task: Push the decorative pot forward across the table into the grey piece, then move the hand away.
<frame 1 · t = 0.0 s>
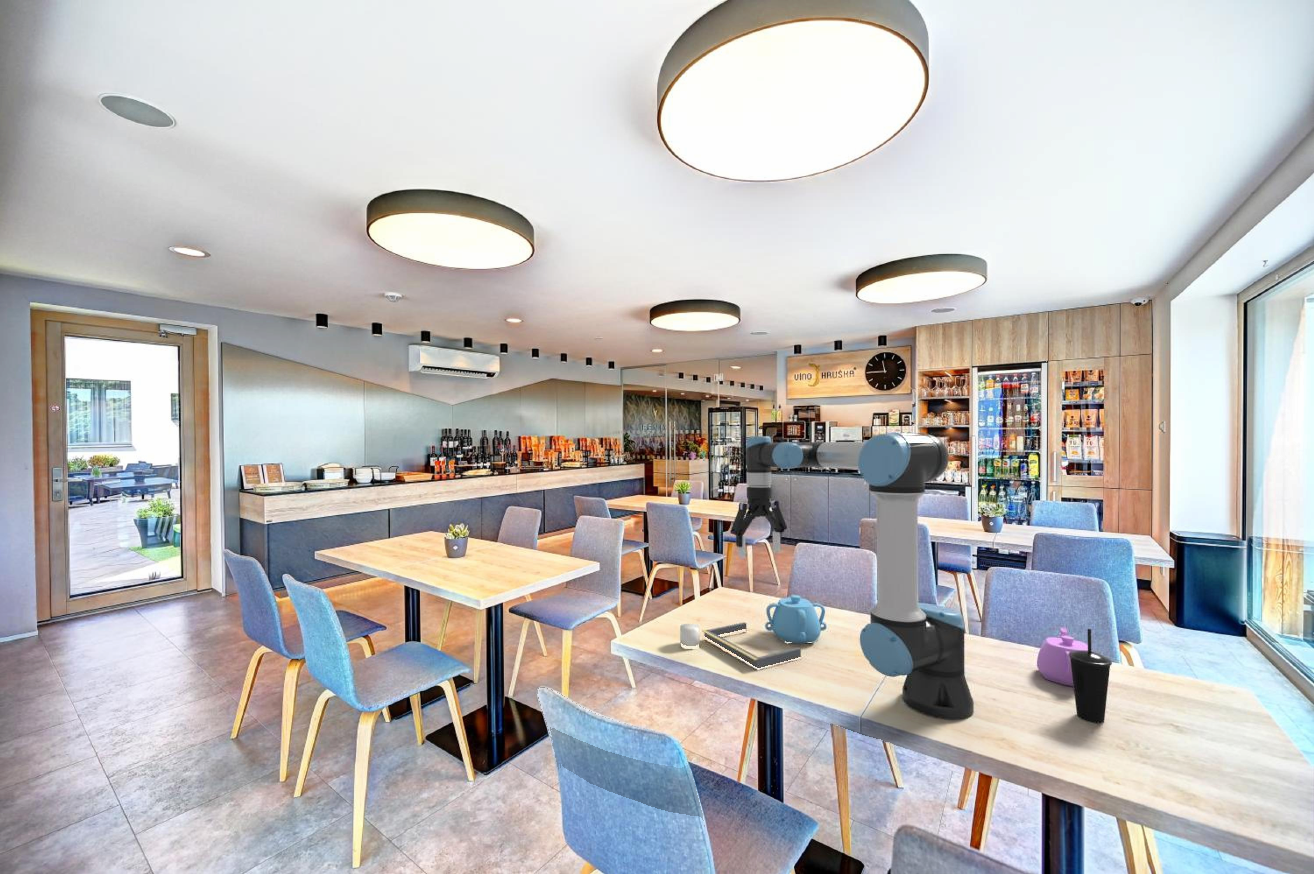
hand: (759, 555, 166), 28 cm above the table, fingers open, 13 cm apart
teapot: (1067, 679, 142), on the table
grey piece: (751, 648, 164), on the table
white rounded cylinder: (690, 646, 166), on the table
drinking cup: (1090, 718, 122), on the table
decorative pot: (795, 639, 172), on the table
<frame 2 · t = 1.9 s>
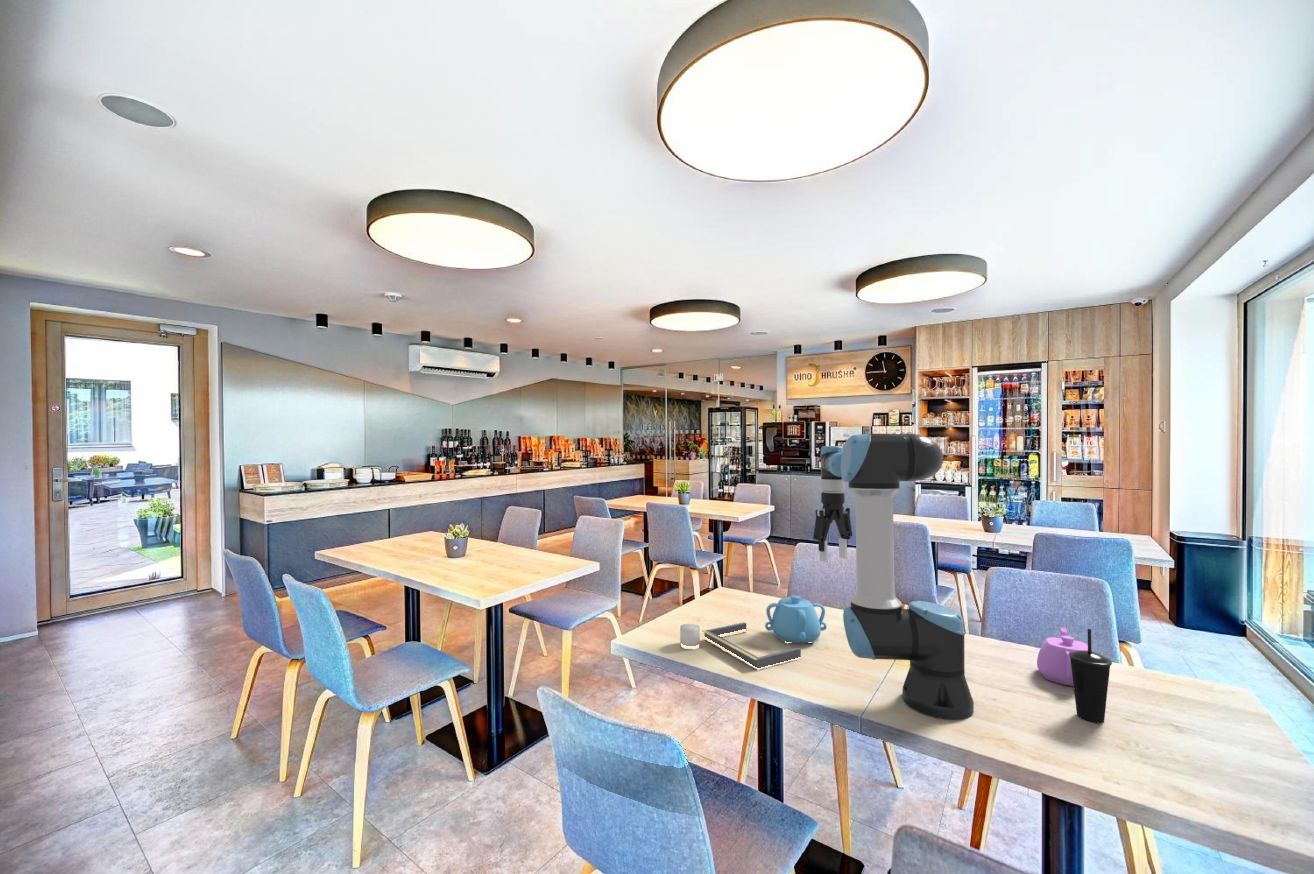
hand: (833, 559, 181), 23 cm above the table, fingers open, 8 cm apart
nothing on the table moved.
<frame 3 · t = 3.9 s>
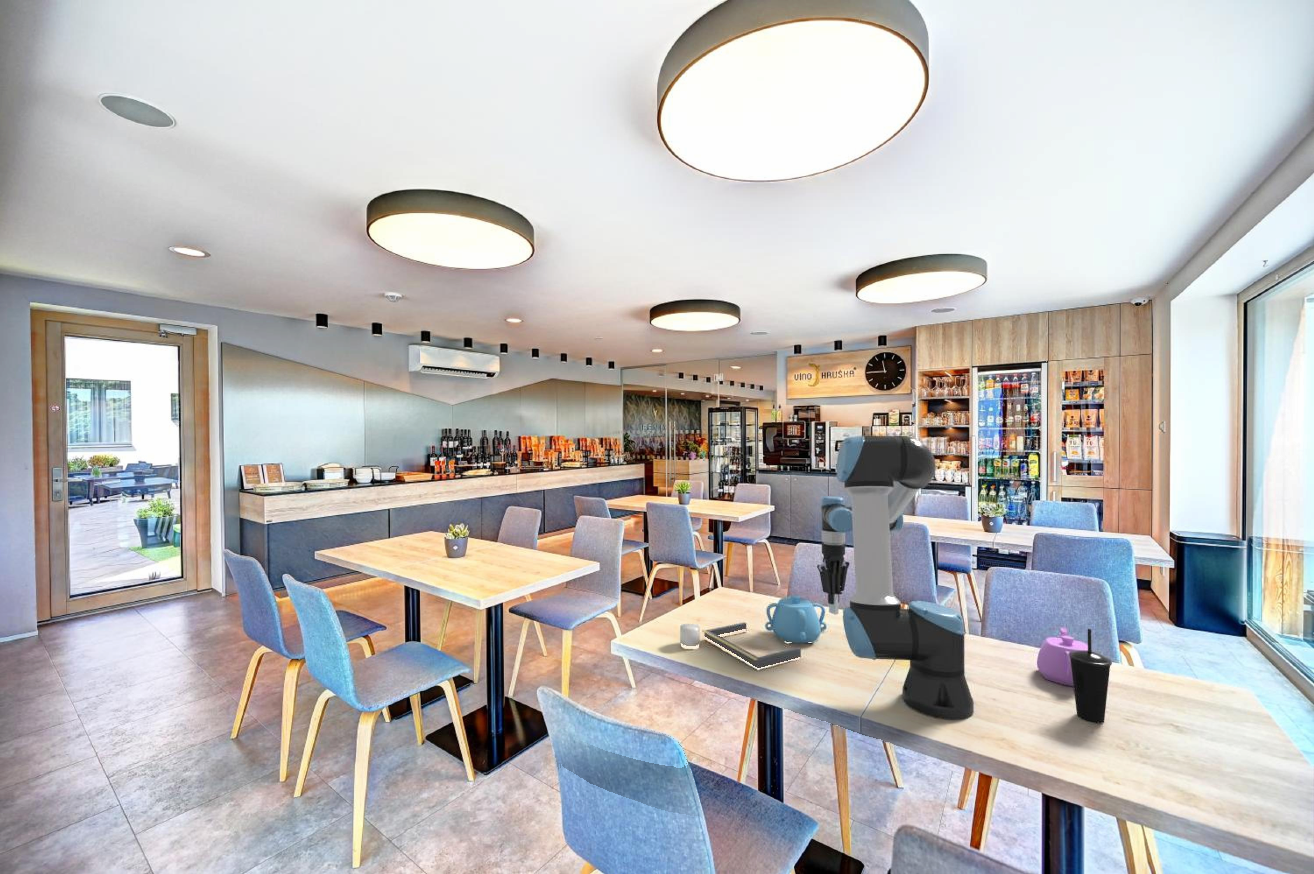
hand: (833, 612, 181), 5 cm above the table, fingers closed
nothing on the table moved.
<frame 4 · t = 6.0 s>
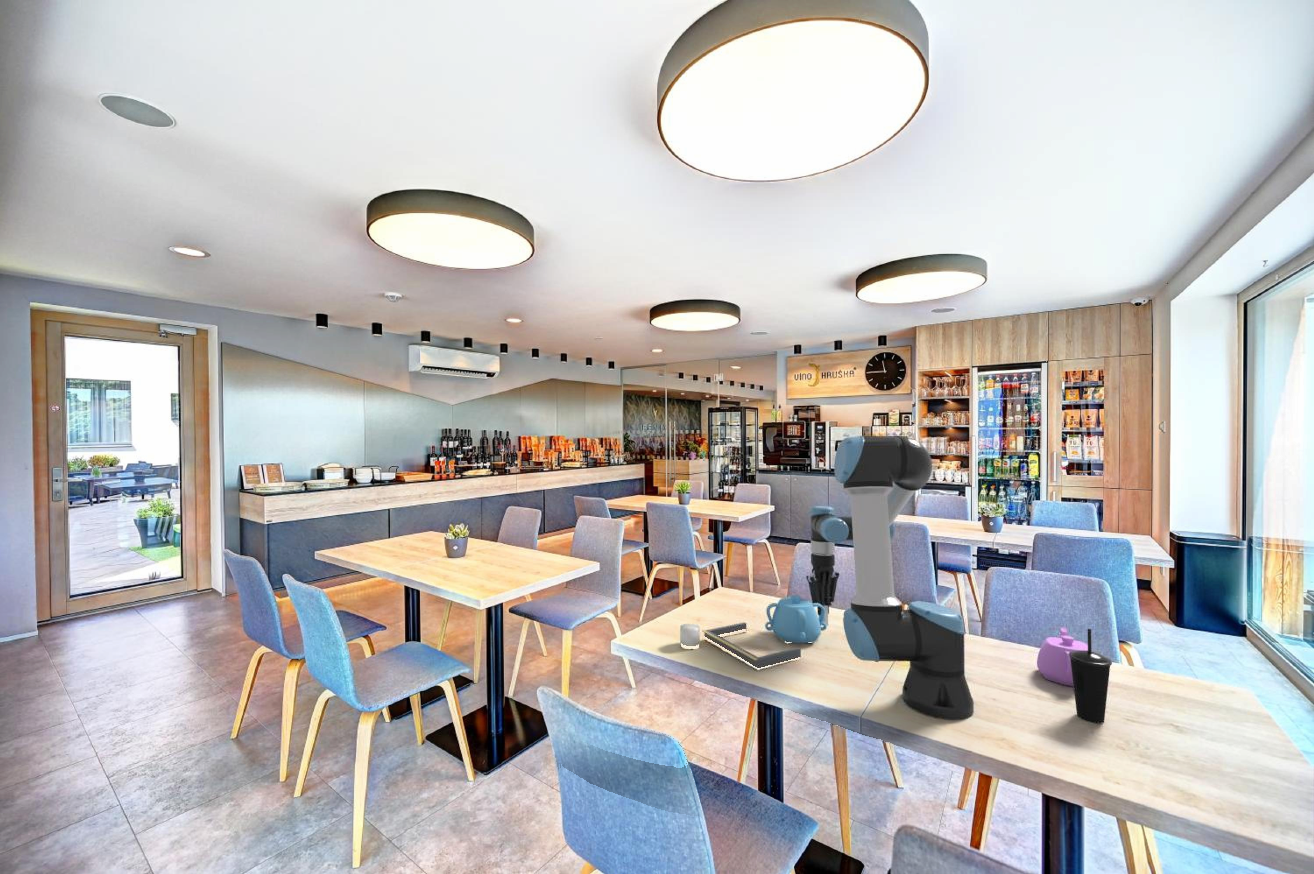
hand: (823, 624, 178), 2 cm above the table, fingers closed
nothing on the table moved.
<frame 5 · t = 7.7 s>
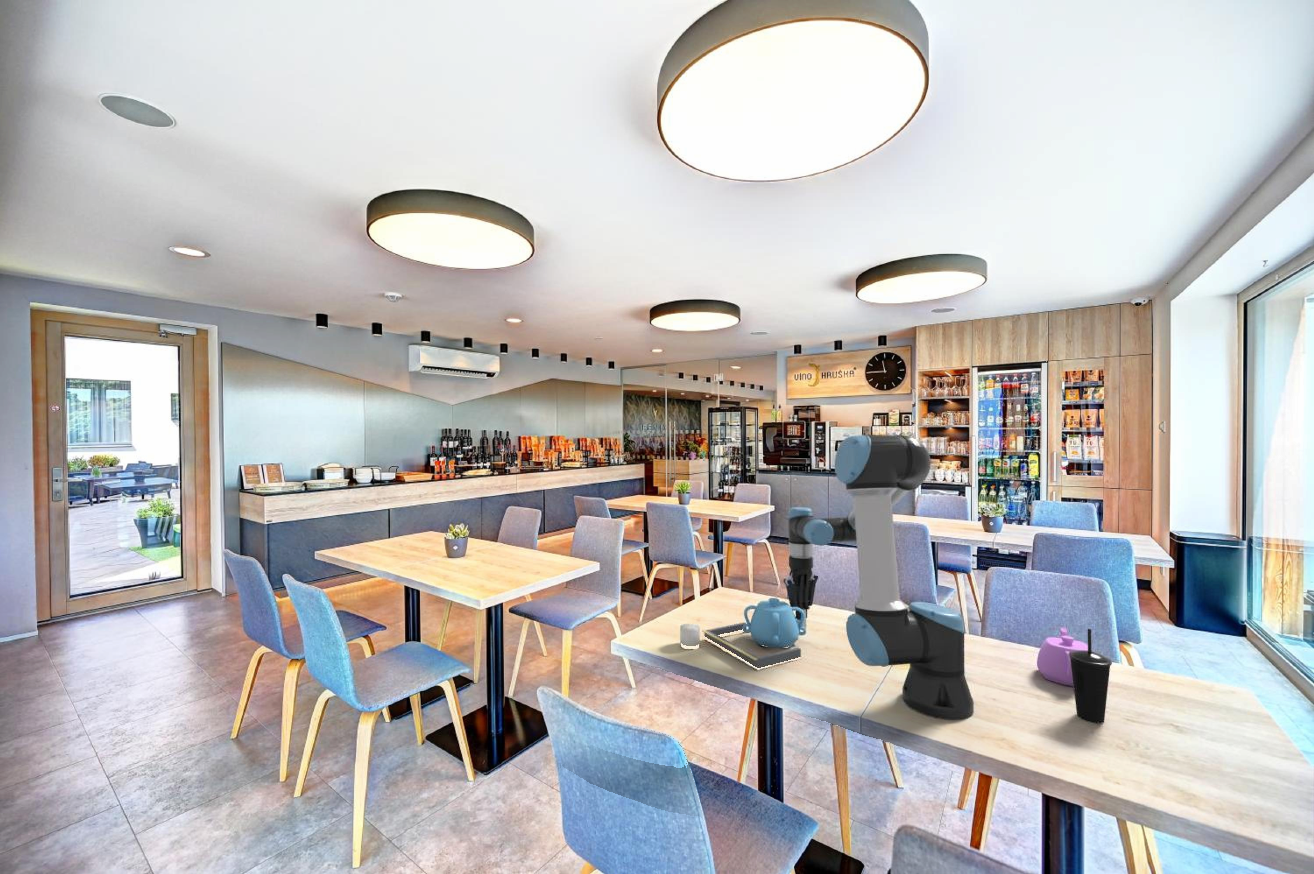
hand: (801, 628, 174), 3 cm above the table, fingers closed
decorative pot: (774, 642, 169), on the table, touching hand
everything else where it was.
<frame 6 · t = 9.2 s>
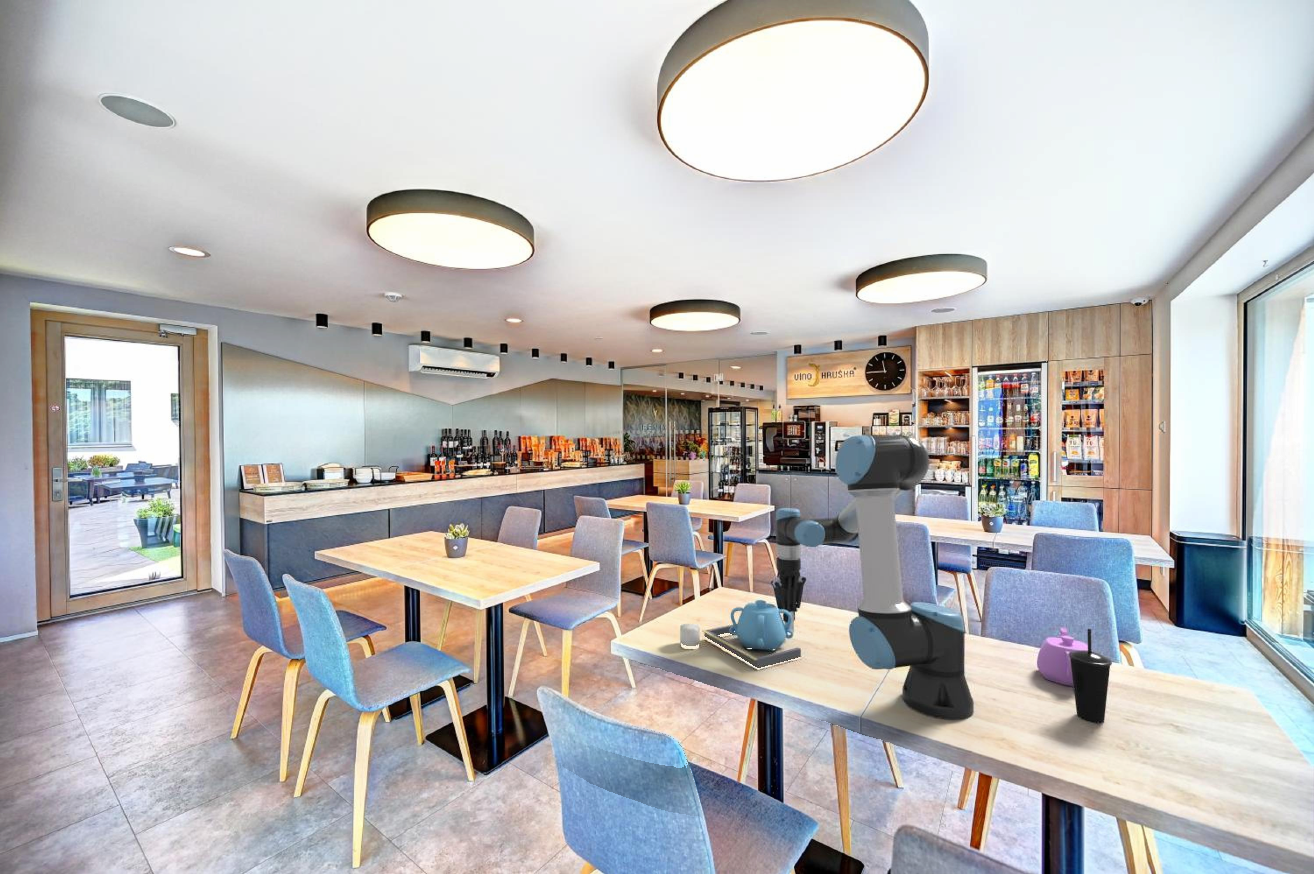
hand: (789, 631, 171), 3 cm above the table, fingers closed
decorative pot: (761, 645, 167), on the table, touching hand
everything else where it was.
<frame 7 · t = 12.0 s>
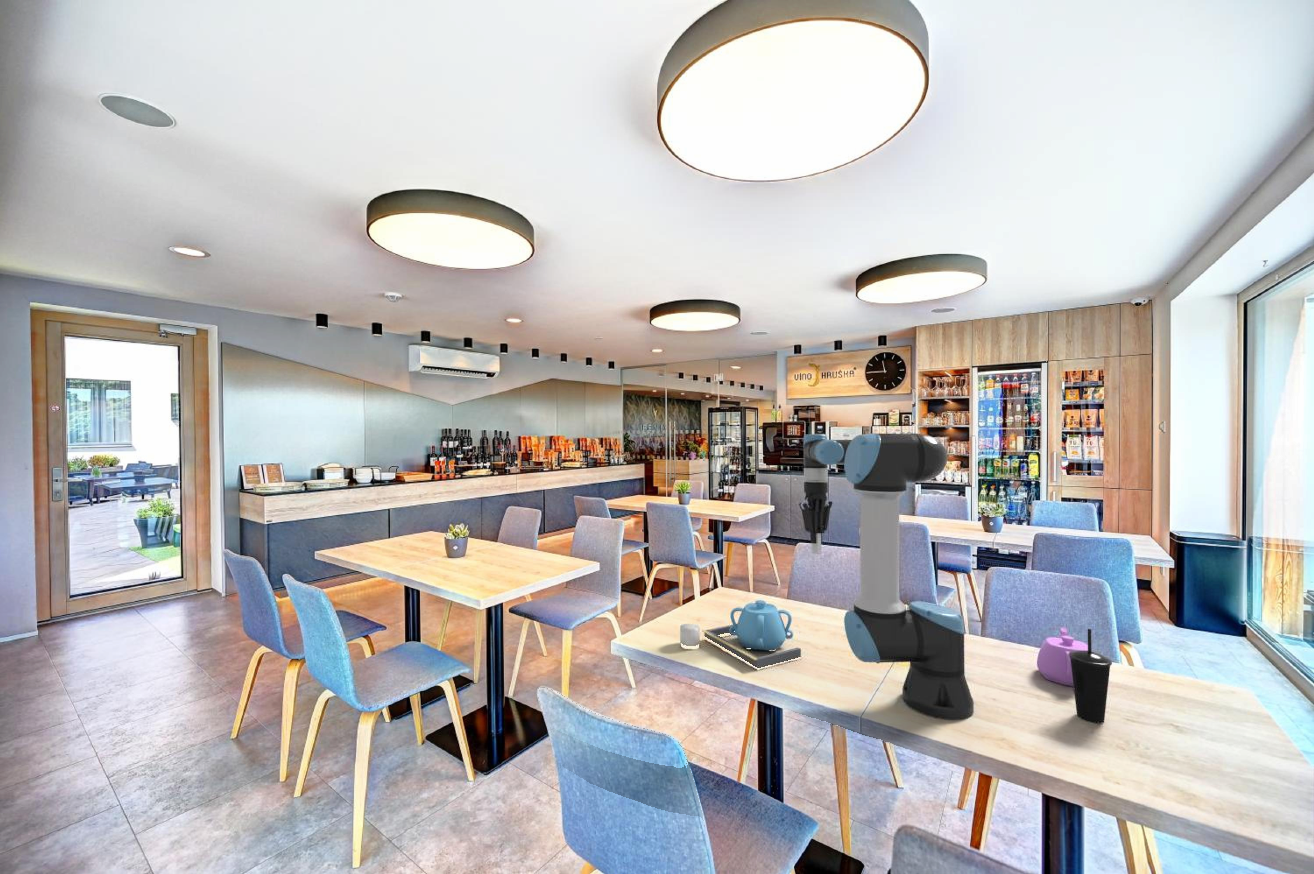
hand: (816, 552, 177), 26 cm above the table, fingers closed
decorative pot: (760, 645, 167), on the table
everything else where it was.
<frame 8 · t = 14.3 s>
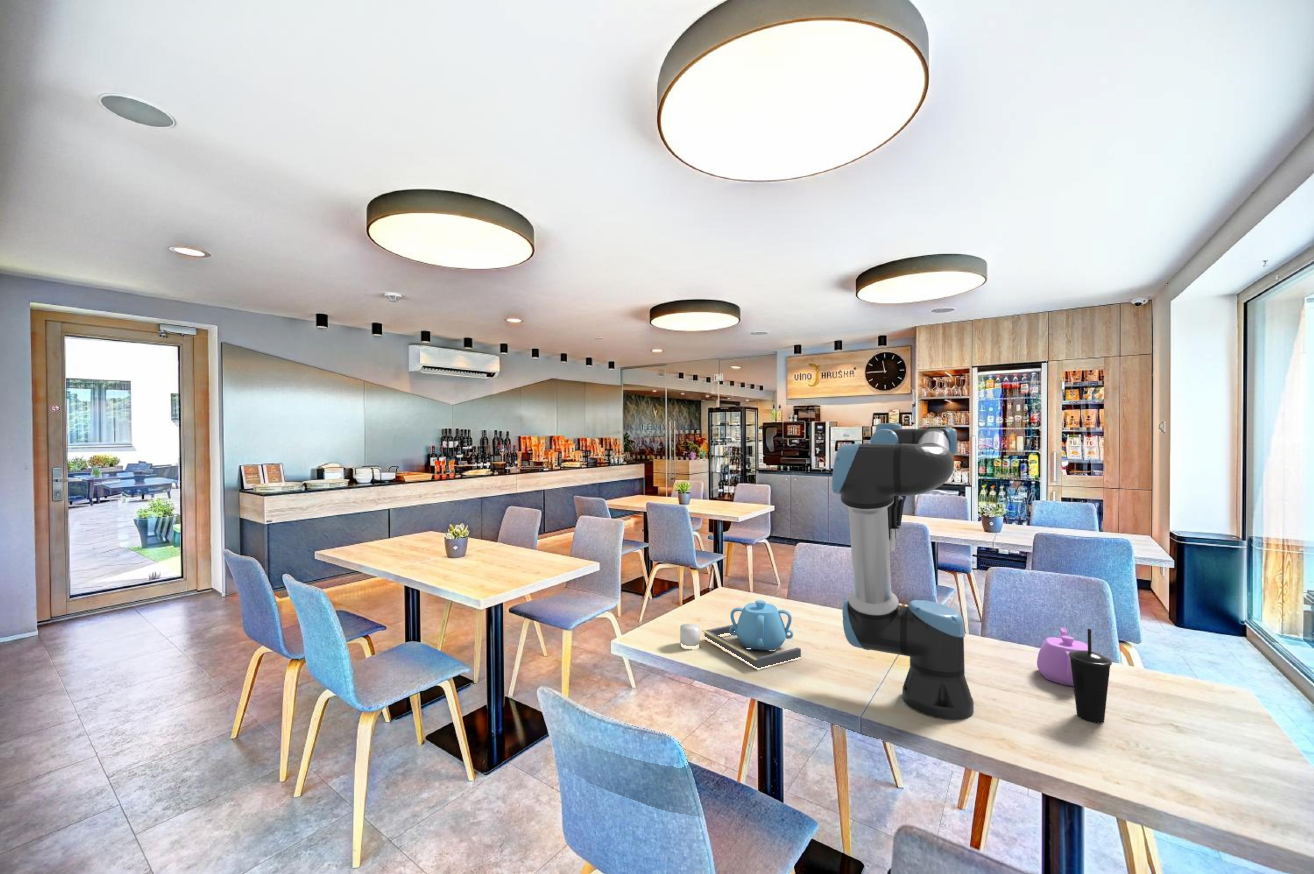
hand: (889, 549, 166), 29 cm above the table, fingers closed
nothing on the table moved.
at the end: decorative pot inside the target area (1.1 cm from its centre), on the table; decorative pot tilted 0°; decorative pot moved 13.4 cm from its start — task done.
